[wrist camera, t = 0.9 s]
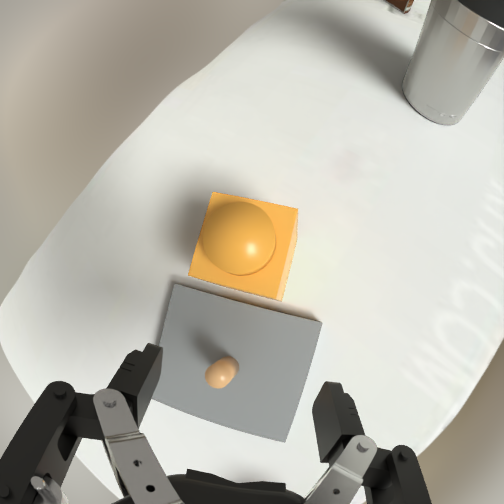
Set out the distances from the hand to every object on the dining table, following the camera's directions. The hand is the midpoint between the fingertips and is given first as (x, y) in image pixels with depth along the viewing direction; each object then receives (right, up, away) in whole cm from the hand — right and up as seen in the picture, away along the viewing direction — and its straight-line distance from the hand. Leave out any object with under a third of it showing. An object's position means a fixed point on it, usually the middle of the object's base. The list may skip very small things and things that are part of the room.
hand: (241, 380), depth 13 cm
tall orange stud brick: (+1, +5, +15) cm, 16 cm away
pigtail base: (-1, -4, +13) cm, 14 cm away
